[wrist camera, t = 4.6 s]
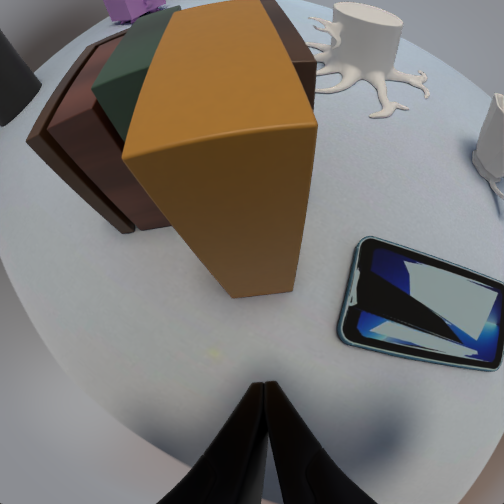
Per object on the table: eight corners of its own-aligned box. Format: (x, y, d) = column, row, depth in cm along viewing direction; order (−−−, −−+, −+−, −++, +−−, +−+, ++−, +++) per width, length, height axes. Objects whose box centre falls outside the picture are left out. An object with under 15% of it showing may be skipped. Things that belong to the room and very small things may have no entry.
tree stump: (263, 42, 30) (258, -6, 22) (375, 35, 30) (381, -4, 23) (332, 126, 22) (343, 52, 15) (460, 111, 23) (483, 65, 15)
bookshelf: (303, 207, 20) (318, 41, 8) (122, 234, 21) (14, 130, 8) (280, 111, 24) (272, -14, 12) (138, 137, 25) (82, 37, 12)
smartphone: (500, 372, 12) (335, 341, 15) (493, 373, 13) (331, 342, 16) (509, 284, 15) (360, 231, 17) (502, 287, 16) (356, 237, 18)
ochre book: (292, 291, 18) (319, 124, 5) (231, 298, 18) (118, 158, 5) (273, 167, 21) (258, -3, 8) (223, 174, 22) (173, 12, 9)
